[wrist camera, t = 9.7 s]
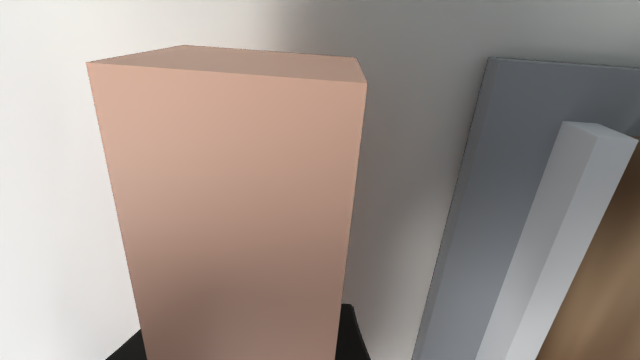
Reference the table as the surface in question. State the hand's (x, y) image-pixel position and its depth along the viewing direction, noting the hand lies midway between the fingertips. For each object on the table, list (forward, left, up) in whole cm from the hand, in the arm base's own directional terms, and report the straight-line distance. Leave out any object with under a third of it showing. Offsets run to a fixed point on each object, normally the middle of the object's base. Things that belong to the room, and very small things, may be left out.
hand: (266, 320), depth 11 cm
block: (0, 0, -1) cm, 1 cm away
